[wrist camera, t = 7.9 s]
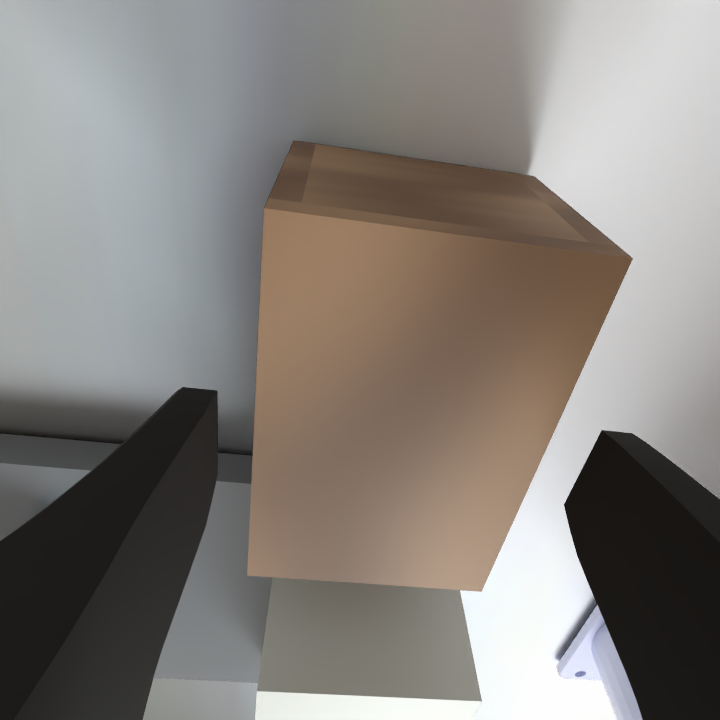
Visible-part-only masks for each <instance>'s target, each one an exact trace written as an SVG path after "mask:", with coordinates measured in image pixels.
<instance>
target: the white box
mask: <svg viewBox="0 0 720 720" xmlns="http://www.w3.org/2000/svg"><path fill="white" fill-rule="evenodd" d="M481 702H482V700H481V695H480V690H479V685H478V680H477V675H476V669H475V664H474V659H473V654H472V649H471V644H470V639H469V634H468V629H467V624H466V619H465V614H464V609H463V604H462V599H461V594H460V590H452V589H437V588H423V587H408V586H393V585H379V584H364V583H349V582H335V581H320V580H305V579H291V578H276V577H272V583H271V591H270V598H269V606H268V614H267V621H266V629H265V636H264V644H263V651H262V659H261V666H260V674H259V681H258V689H257V701H256V715H255V720H472V718H473V716H474V715H475V713H476V711H477V709H478V707H479V706H480V704H481Z"/></svg>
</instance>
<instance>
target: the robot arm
mask: <svg viewBox="0 0 720 720" xmlns="http://www.w3.org/2000/svg"><path fill="white" fill-rule="evenodd" d="M217 476H218V403H217V391H215V390H205V389H196V388H186V387H182V388H181V389H179V390H178V391H177V392H176V393H175V394H174V395H172V396H171V397H170V398H169V399H168V400H167V401H166V402H165V403H164V404H163V405H162V406H161V407H160V408H159V409H158V410H157V411H156V412H155V413H154V414H153V415H152V416H151V417H150V418H149V419H148V420H147V421H146V422H145V423H144V424H143V425H142V426H140V427H139V428H138V429H137V430H136V431H135V432H134V433H133V434H132V435H131V436H130V437H129V438H128V439H127V440H125V441H124V442H123V443H122V444H121V445H120V446H119V447H118V448H116V449H115V450H114V451H113V452H112V453H111V454H110V455H109V456H107V457H106V458H105V459H104V460H103V461H102V462H101V463H100V464H98V465H97V466H96V467H95V468H94V469H93V470H91V471H90V472H89V473H88V474H87V475H85V476H84V477H83V478H82V479H80V480H79V481H78V482H77V483H75V484H74V485H73V486H72V487H71V488H69V489H68V490H67V491H66V492H64V493H63V494H62V495H61V496H59V497H58V498H57V499H56V500H54V501H53V502H52V503H51V504H50V505H48V506H47V507H46V508H44V509H43V510H42V511H40V512H39V513H38V514H36V515H35V516H34V517H32V518H31V519H30V520H28V521H27V522H26V523H24V524H23V525H22V526H20V527H19V528H17V529H16V530H15V531H13V532H12V533H11V534H9V535H8V536H6V537H5V538H3V539H2V540H1V541H0V720H142V719H143V715H144V711H145V708H146V704H147V700H148V696H149V692H150V688H151V685H152V681H153V677H154V674H155V671H156V667H157V664H158V661H159V658H160V655H161V652H162V648H163V645H164V643H165V640H166V637H167V634H168V631H169V629H170V626H171V623H172V620H173V617H174V615H175V612H176V609H177V606H178V603H179V601H180V598H181V595H182V592H183V589H184V587H185V584H186V581H187V578H188V575H189V573H190V570H191V567H192V564H193V561H194V558H195V556H196V553H197V550H198V547H199V544H200V541H201V539H202V536H203V533H204V530H205V527H206V524H207V519H208V515H209V511H210V507H211V503H212V498H213V494H214V489H215V485H216V480H217ZM564 506H565V511H566V515H567V519H568V523H569V527H570V531H571V535H572V538H573V542H574V545H575V549H576V552H577V556H578V558H579V561H580V563H581V566H582V568H583V571H584V573H585V576H586V578H587V581H588V583H589V586H590V588H591V591H592V593H593V595H594V598H595V600H596V603H597V606H596V607H595V609H594V610H593V612H592V613H591V615H590V616H589V618H588V619H587V621H586V622H585V624H584V625H583V627H582V628H581V630H580V631H579V633H578V634H577V636H576V637H575V639H574V640H573V642H572V643H571V645H570V646H569V648H568V649H567V651H566V652H565V654H564V655H563V657H562V658H561V660H560V661H559V663H558V664H557V670H558V673H559V676H561V677H563V678H568V679H588V680H602V682H603V684H604V687H605V690H606V692H607V695H608V697H609V700H610V703H611V705H612V708H613V710H614V713H615V715H616V718H617V720H720V499H718V498H717V497H716V496H715V495H713V494H712V493H711V492H709V491H708V490H707V489H706V488H704V487H703V486H702V485H701V484H699V483H698V482H697V481H695V480H694V479H693V478H692V477H690V476H689V475H688V474H687V473H685V472H684V471H683V470H681V469H680V468H679V467H678V466H676V465H675V464H674V463H673V462H671V461H670V460H669V459H667V458H666V457H665V456H663V455H662V454H661V453H659V452H658V451H657V450H655V449H654V448H653V447H651V446H650V445H649V444H647V443H646V442H644V441H643V440H641V439H640V438H638V437H637V436H635V435H634V434H632V433H623V432H613V431H604V430H602V431H601V433H600V435H599V437H598V439H597V441H596V443H595V445H594V447H593V449H592V451H591V453H590V455H589V457H588V459H587V461H586V463H585V465H584V466H583V468H582V470H581V472H580V474H579V476H578V478H577V480H576V482H575V484H574V486H573V488H572V490H571V492H570V494H569V496H568V498H567V500H566V502H565V504H564Z"/></svg>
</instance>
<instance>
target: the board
mask: <svg viewBox="0 0 720 720" xmlns="http://www.w3.org/2000/svg"><path fill="white" fill-rule="evenodd" d="M120 445H121V444H114V443H102V442H91V441H79V440H68V439H57V438H45V437H34V436H23V435H11V434H0V541H1V540H2V539H3V538H5V537H6V536H8V535H9V534H11V533H12V532H13V531H15V530H16V529H17V528H19V527H20V526H22V525H23V524H24V523H26V522H27V521H28V520H30V519H31V518H32V517H34V516H35V515H36V514H38V513H39V512H40V511H42V510H43V509H44V508H46V507H47V506H48V505H50V504H51V503H52V502H53V501H54V500H56V499H57V498H58V497H59V496H61V495H62V494H63V493H64V492H66V491H67V490H68V489H69V488H71V487H72V486H73V485H74V484H75V483H77V482H78V481H79V480H80V479H82V478H83V477H84V476H85V475H87V474H88V473H89V472H90V471H91V470H93V469H94V468H95V467H96V466H97V465H98V464H100V463H101V462H102V461H103V460H104V459H105V458H106V457H107V456H109V455H110V454H111V453H112V452H113V451H114V450H115V449H116V448H118V447H119V446H120ZM252 459H253V456H250V455H238V454H227V453H218V476H217V480H216V485H215V489H214V494H213V498H212V503H211V507H210V511H209V515H208V519H207V524H206V527H205V530H204V533H203V536H202V539H201V541H200V544H199V547H198V550H197V553H196V556H195V558H194V561H193V564H192V567H191V570H190V573H189V575H188V578H187V581H186V584H185V587H184V589H183V592H182V595H181V598H180V601H179V603H178V606H177V609H176V612H175V615H174V617H173V620H172V623H171V626H170V629H169V631H168V634H167V637H166V640H165V643H164V645H163V648H162V652H161V655H160V658H159V661H158V664H157V667H156V671H155V674H154V677H153V678H166V679H187V680H209V681H230V682H251V683H258V681H259V674H260V666H261V659H262V651H263V644H264V636H265V629H266V621H267V614H268V606H269V598H270V591H271V583H272V577H261V576H247V569H248V547H249V525H250V503H251V481H252Z"/></svg>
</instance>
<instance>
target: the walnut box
mask: <svg viewBox="0 0 720 720" xmlns="http://www.w3.org/2000/svg"><path fill="white" fill-rule="evenodd" d="M632 259H633V258H632V257H630V256H629V255H628V254H627V253H626V252H624V251H623V250H622V249H621V248H620V247H618V246H617V245H616V244H615V243H614V242H612V241H611V240H610V239H609V238H608V237H606V236H605V235H604V234H603V233H602V232H600V231H599V230H598V229H597V228H596V227H594V226H593V225H592V224H591V223H590V222H588V221H587V220H586V219H585V218H584V217H582V216H581V215H580V214H579V213H578V212H576V211H575V210H574V209H573V208H572V207H570V206H569V205H568V204H567V203H566V202H564V201H563V200H562V199H561V198H560V197H558V196H557V195H556V194H555V193H554V192H552V191H551V190H550V189H549V188H548V187H546V186H545V185H544V184H543V183H542V182H540V181H539V180H538V179H537V178H536V177H534V176H528V175H522V174H515V173H508V172H502V171H495V170H488V169H482V168H475V167H468V166H461V165H455V164H448V163H441V162H435V161H428V160H421V159H415V158H408V157H401V156H394V155H388V154H381V153H374V152H368V151H361V150H354V149H348V148H341V147H334V146H327V145H321V144H314V143H307V142H301V141H293V143H292V145H291V148H290V150H289V152H288V154H287V157H286V159H285V161H284V164H283V166H282V168H281V170H280V173H279V175H278V177H277V179H276V182H275V184H274V186H273V189H272V191H271V193H270V195H269V198H268V200H267V202H266V205H265V207H264V217H263V239H262V261H261V283H260V305H259V327H258V349H257V371H256V393H255V415H254V437H253V459H252V481H251V503H250V525H249V547H248V569H247V576H261V577H276V578H291V579H305V580H320V581H335V582H349V583H364V584H379V585H393V586H408V587H423V588H437V589H452V590H467V591H482V589H483V587H484V585H485V583H486V580H487V578H488V576H489V574H490V572H491V569H492V567H493V565H494V563H495V560H496V558H497V556H498V554H499V552H500V549H501V547H502V545H503V543H504V541H505V538H506V536H507V534H508V532H509V530H510V527H511V525H512V523H513V521H514V519H515V516H516V514H517V512H518V510H519V508H520V505H521V503H522V501H523V499H524V497H525V494H526V492H527V490H528V488H529V486H530V483H531V481H532V479H533V477H534V475H535V472H536V470H537V468H538V466H539V464H540V461H541V459H542V457H543V455H544V453H545V450H546V448H547V446H548V444H549V442H550V439H551V437H552V435H553V433H554V431H555V428H556V426H557V424H558V422H559V420H560V417H561V415H562V413H563V411H564V409H565V406H566V404H567V402H568V400H569V398H570V395H571V393H572V391H573V389H574V387H575V384H576V382H577V380H578V378H579V376H580V373H581V371H582V369H583V367H584V365H585V362H586V360H587V358H588V356H589V354H590V351H591V349H592V347H593V345H594V343H595V340H596V338H597V336H598V334H599V332H600V329H601V327H602V325H603V323H604V321H605V318H606V316H607V314H608V312H609V310H610V307H611V305H612V303H613V301H614V298H615V296H616V294H617V292H618V290H619V287H620V285H621V283H622V281H623V279H624V276H625V274H626V272H627V270H628V268H629V265H630V263H631V261H632Z"/></svg>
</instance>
